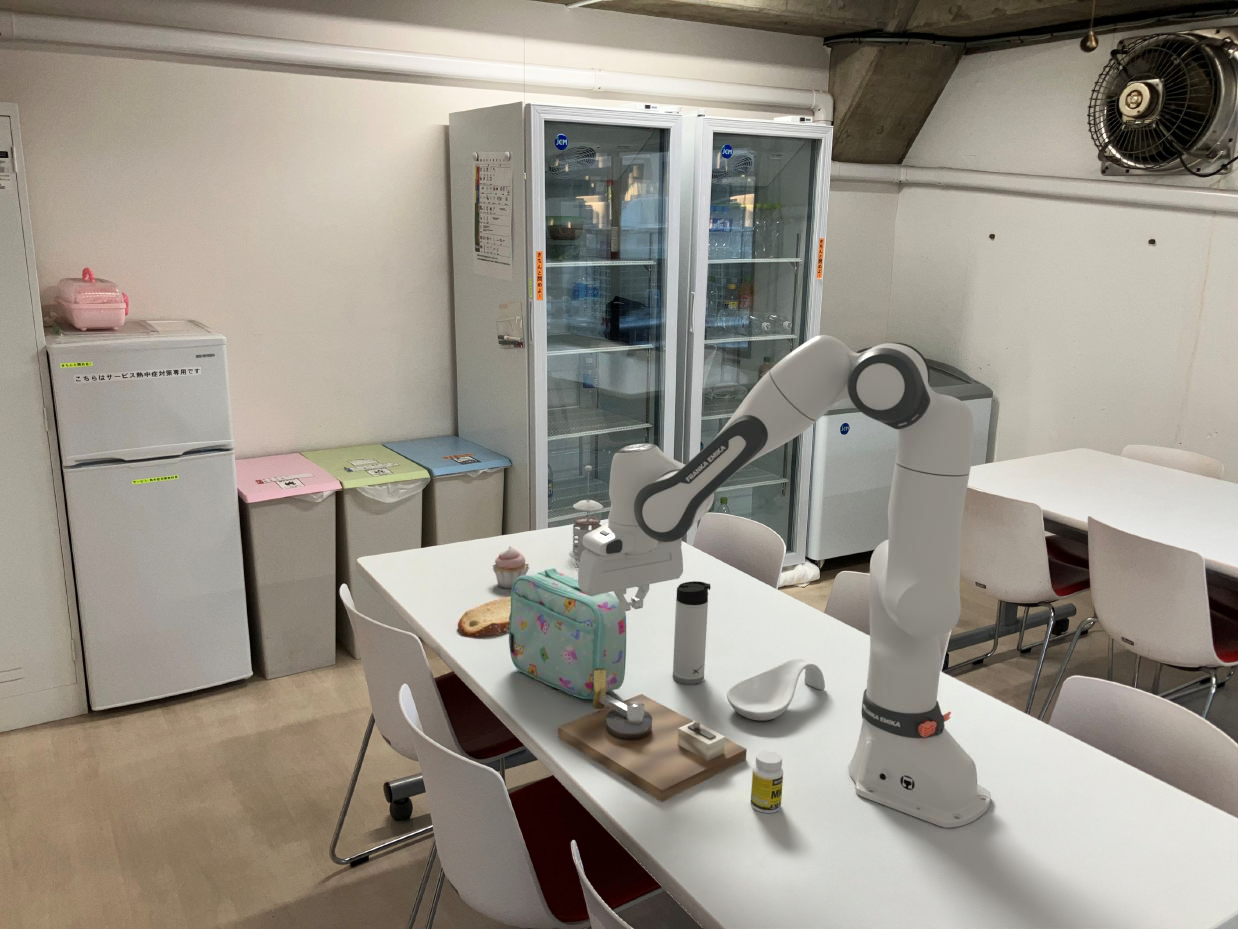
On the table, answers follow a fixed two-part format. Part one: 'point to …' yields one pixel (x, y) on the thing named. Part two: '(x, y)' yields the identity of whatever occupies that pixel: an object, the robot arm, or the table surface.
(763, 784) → the supplement bottle
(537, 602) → the lunch box
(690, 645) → the travel mug
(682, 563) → the robot arm
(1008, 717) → the table surface
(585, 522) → the french press
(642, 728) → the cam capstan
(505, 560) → the cupcake
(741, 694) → the spoon rest
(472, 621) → the slice of bread
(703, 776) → the stand
